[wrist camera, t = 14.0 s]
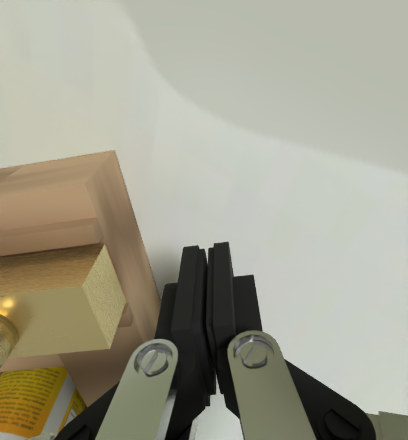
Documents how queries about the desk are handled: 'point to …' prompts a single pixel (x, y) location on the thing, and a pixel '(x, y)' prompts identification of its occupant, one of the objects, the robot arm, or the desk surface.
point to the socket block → (80, 237)
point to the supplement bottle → (37, 402)
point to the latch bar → (58, 302)
